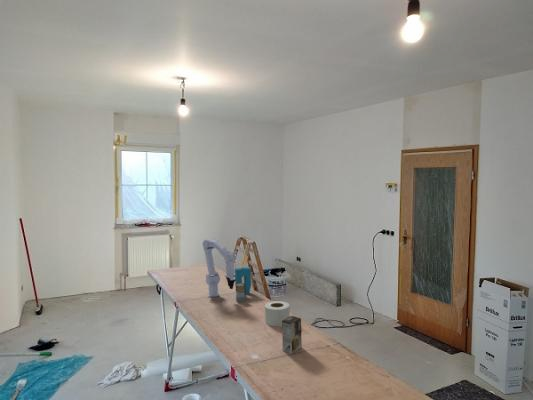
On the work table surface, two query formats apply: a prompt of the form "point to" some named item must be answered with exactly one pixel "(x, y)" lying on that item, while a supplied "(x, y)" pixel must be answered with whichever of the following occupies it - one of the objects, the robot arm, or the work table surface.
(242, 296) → the tower middle
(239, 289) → the walnut cube
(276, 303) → the roll of tape
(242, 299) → the tower base
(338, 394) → the work table surface
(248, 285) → the block
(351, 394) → the work table surface
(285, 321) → the coffee box
